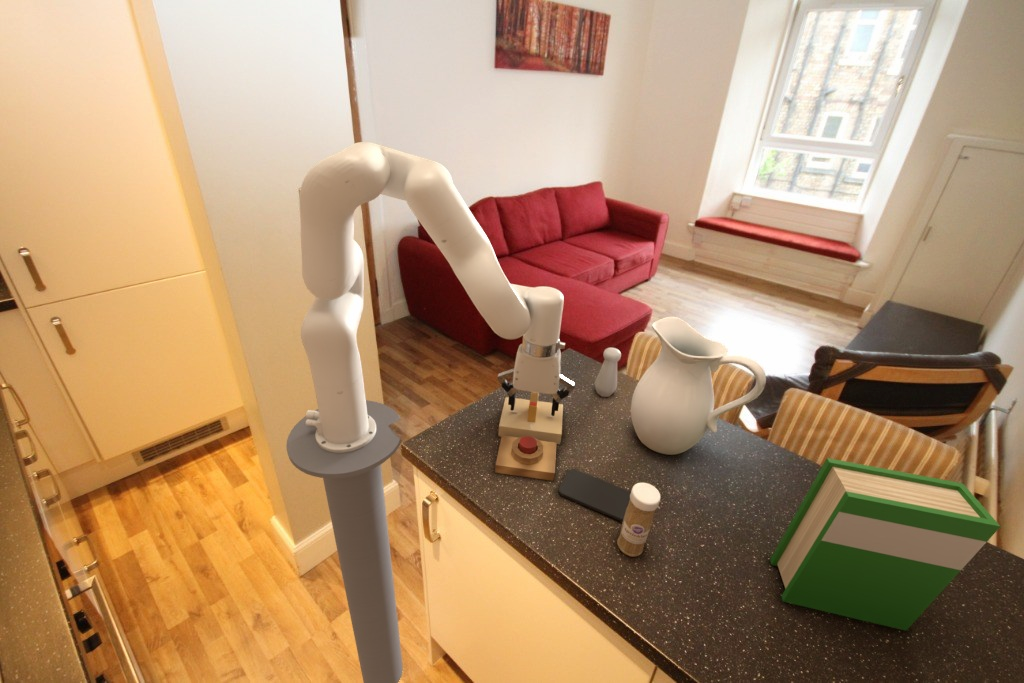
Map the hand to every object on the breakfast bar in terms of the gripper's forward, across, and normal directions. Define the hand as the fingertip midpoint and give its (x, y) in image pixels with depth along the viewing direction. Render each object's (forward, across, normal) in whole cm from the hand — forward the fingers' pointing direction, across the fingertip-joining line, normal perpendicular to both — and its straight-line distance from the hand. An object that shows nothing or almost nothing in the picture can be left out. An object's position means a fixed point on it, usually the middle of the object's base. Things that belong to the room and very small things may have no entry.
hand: (532, 409), depth 102 cm
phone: (+5, -15, +19) cm, 25 cm away
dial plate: (+5, 0, 0) cm, 5 cm away
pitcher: (+5, -33, +1) cm, 33 cm away
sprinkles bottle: (+5, -20, +29) cm, 36 cm away
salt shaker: (+5, -18, -17) cm, 25 cm away
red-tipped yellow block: (+1, 0, 0) cm, 1 cm away
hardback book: (+5, -53, +32) cm, 62 cm away
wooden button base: (+5, 0, +12) cm, 13 cm away
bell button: (+1, 0, +12) cm, 12 cm away
